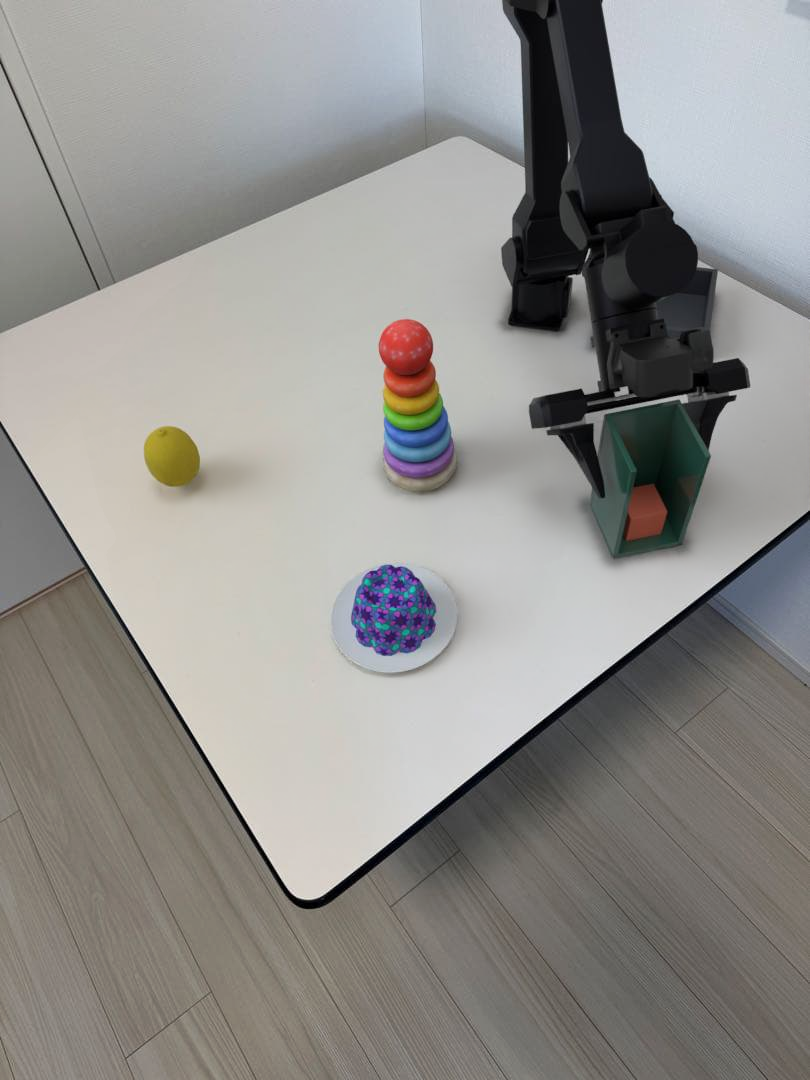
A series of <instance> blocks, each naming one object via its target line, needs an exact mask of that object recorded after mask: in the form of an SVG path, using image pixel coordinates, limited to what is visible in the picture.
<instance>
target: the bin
mask: <svg viewBox="0 0 810 1080" xmlns="http://www.w3.org/2000/svg"><path fill="white" fill-rule="evenodd" d="M718 272H719V268H710V267H709V268H708V267H700V266H697V268H696V272H695V274H694V276H693V278H692V280H691V281H690V282H689V284H688V285H687V286H686V287H685V288H683V289H682V290H681V291H680V292H678V293H676V294H673V295H671V296H669V297H667V298H665V299H663V300H660V301H658V302H656V306H657V313H658V319H663V318H664V323H665V324H666V328H667V333H668V336H669V338H670V339H675V338H680V335H681V332H682V331H683V330H688V329H694V328H699V327H704V328H706V329H708V330H710V329H711V323H712V315H713V310H714V309H713V308H714V302H715V294H716V288H717V279H718Z"/></svg>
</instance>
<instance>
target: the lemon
mask: <svg viewBox="0 0 810 1080" xmlns="http://www.w3.org/2000/svg"><path fill="white" fill-rule="evenodd" d="M143 458H144V462H145V465H146V468H147V469H148V472H149V473H150V474H151V475H152V477H153V478H154V479H155V480H156V481H157V482H159V483H160V484H162V485H164V486H167V487H172V488H178V487H183V486H186V485H188V484H189V483H191V482H192V481H193V480H194V479H195V478H196V477H197V475H198V473H199V470H200V466H201V456H200V452H199V449H198V446H197V444H196V442H194V440H193V439H192V437H191V436H190V435H189V434H188V433H187V432H185V430H183V429H181V428H179V427H177V426H172V425H171V426H170V425H165V426H161V427H157V428H155V429H153V431H151V432H150V433H149V434H148V435H147V437H146V439H145V441H144V444H143Z"/></svg>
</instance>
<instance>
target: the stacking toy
mask: <svg viewBox="0 0 810 1080" xmlns="http://www.w3.org/2000/svg"><path fill="white" fill-rule="evenodd" d="M433 352H434V341H433V337H432V335H431V332H430V331H429V330H428V328H427V327H426V326H425V325H424V324H422V323H421V322H420V321H417V320H414V319H410V318H402V319H397V320H395V321H393V322H391V323H390V324H388V325H387V326H386V327H385V328H384V329H383V331H382V332H381V334H380V337H379V340H378V353H379V357H380V359H381V361H382V363H383V364H384V365H385V368H384V370H383V382H384V386H383V390H382V396H383V405H382V411H383V414H384V417H383V427H384V430H383V440H384V443H383V448H382V452H383V453H382V454H383V469H384V472H385V475H386V476H387V478H388V480H390V481H391V482H392V483H393V484H394V485H395V486H398V487H399V488H401V489H403V490H406V491H409V492H410V491H411V492H419V493H420V492H428V491H432V490H435V489H437V488H440V487H441V486H442V485H444V484H445V483H447V482H448V481H449V480H450V479H451V478H452V476H453V475H454V474H455V472H456V470H457V466H458V453H457V450H456V448H455V442H454V439H453V437H452V427H451V425H450V422H449V416H448V411H447V410H446V407H445V406H444V400H443V397H442V395H441V393H440V386H439V383H438V381H437V379H436V377H437V370H436V367H435V365H434V364H433V362H432V361H431V359H432V358H433V357H432V356H433Z"/></svg>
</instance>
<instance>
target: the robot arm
mask: <svg viewBox="0 0 810 1080" xmlns="http://www.w3.org/2000/svg"><path fill="white" fill-rule="evenodd" d="M603 1H604V0H501V4H502V11H503V13H504V15H505V18H507V20H508V22H509V23H510V25H511V27H512V29H513V30H514V32H515V34H516V35H517V37H518V38H519V43H520V44H519V45H520V64H521V65H520V67H521V68H520V69H521V95H522V98H521V99H522V125H523V127H522V128H523V156H524V159H523V160H524V181H525V182H524V183H525V191H524V194H523V196H522V197H521V199H520V201H519V203H518V205H517V207H516V209H515V211H514V213H513V214H512V217H511V221H512V222H511V228H512V229H511V236H510V237H509V238H508V239H507V240H506V241H505V243H504V244H503V245H502V246H501V247H500V251H501V252H500V253H501V254H500V255H501V264H502V269H503V270H504V273H505V274H506V277H507V279H508V281H509V284H510V286H511V310H510V313H509V316H508V318H507V324H508V325H509V326H514V327H523V328H530V329H538V330H546V331H554V332H559V331H560V330H561V328H562V324H563V322H564V319H566V318H568V315H569V312H570V309H571V304H572V296H573V295H572V293H573V285H574V279H573V277H571V276H575V275H576V276H580V275H581V276H582V277H583V278H584V283H585V290H586V297H587V302H588V303H587V304H588V309H589V315H590V322H591V329H592V336H590V337H589V339H590V344H591V349H595V354H596V360H597V367H598V372H599V378H600V380H597V388H598V391H597V392H591V393H586V394H585V392H584V390H583V388H577V389H571V390H566V391H561V392H556V393H550V394H545V395H541V396H537V397H533V398H532V400H531V402H530V403H529V404H528V414H529V420H530V427H531V429H532V430H535V429H545V430H546V436H557V437H558V438H559V439H560V441H561V442H562V444H563V445H564V446H565V448H567V450H568V451H569V452H570V454H571V455H572V456H573V458H574V460H575V461H576V463H577V464H578V465H579V467H580V469H581V471H582V473H583V474H584V476H585V478H586V480H587V481H588V483H589V485H590V487H591V489H592V488H593V490H594V491H595V493H596V495H597V496H598V498H601V499H602V498H605V488H604V481H603V476H602V472H601V468H600V464H599V460H598V456H597V455H598V451H597V449H596V444H595V424H594V422H591V423H587V420H586V415H587V414H593V413H598V412H603V411H608V410H613V409H614V410H615V409H618V408H623V407H628V406H634V405H640V404H644V403H649V402H654V401H659V400H665V399H669V398H674V397H679V396H684V395H686V397H687V402H681V403H682V405H683V407H684V408H685V410H686V412H687V414H688V415H689V417H690V419H691V421H692V423H693V424H694V426H695V428H696V430H697V431H698V433H699V435H700V437H701V439H702V440H703V442H704V444H705V446H706V447H707V449H708V451H709V452H710V445H711V441H712V438H713V434H714V430H715V427H716V424H717V420H718V418H719V416H720V415H721V413H722V411H724V408H726V406H727V404H728V403H731V402H735V401H736V400H737V396H738V395H737V394H732V395H730V392H735V391H736V392H737V391H740V390H746V389H750V388H751V382H750V381H751V380H750V374H749V369H748V367H747V365H746V363H744V362H743V361H742V360H741V359H740V358H739V357H736V358H730V359H726V360H721V361H716V362H714V345H713V341H712V335H711V331H710V330H708V329H706V328H704V327H699V328H694V329H688V330H683V331H682V332H681V335H680V338H675V339H670V338H669V336H668V333H667V328H666V324H665V323H664V318H663V319H658V313H657V306H656V302H658V301H660V300H663V299H665V298H667V297H669V296H671V295H673V294H676V293H678V292H680V291H681V290H682V289H683V288H685V287H686V286H687V285H688V284H689V282H690V281H691V280H692V278H693V276H694V274H695V272H696V268H697V267H698V263H699V251H698V247H697V244H696V243H695V242H694V240H693V238H692V236H691V235H690V234H689V233H688V232H687V230H686V229H685V228H683V227H682V226H681V225H679V224H677V223H676V222H675V219H674V214H675V212H674V210H673V209H672V208H671V207H670V206H669V204H668V203H667V202H666V200H665V199H664V198H663V196H662V194H661V193H660V191H659V190H658V188H657V186H656V184H655V182H654V180H653V179H652V177H650V175H649V171H648V167H647V162H646V158H645V154H644V151H643V150H642V148H641V147H640V146H639V145H637V143H636V142H635V141H634V140H633V139H632V138H631V137H630V136H629V135H628V134H627V133H626V132H625V128H624V123H623V120H622V115H621V109H620V103H619V97H618V91H617V86H616V85H617V84H616V80H615V73H614V68H613V67H614V66H613V62H612V61H613V60H612V55H611V50H610V49H611V48H610V43H609V38H608V33H607V32H608V31H607V27H606V26H607V25H606V20H605V14H604V8H603ZM588 253H589V254H588ZM626 387H627V390H628V393H626V394H621V395H617V396H616V395H615V394H616V393H619V392H621V389H622V388H626ZM546 428H549V429H546Z"/></svg>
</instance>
